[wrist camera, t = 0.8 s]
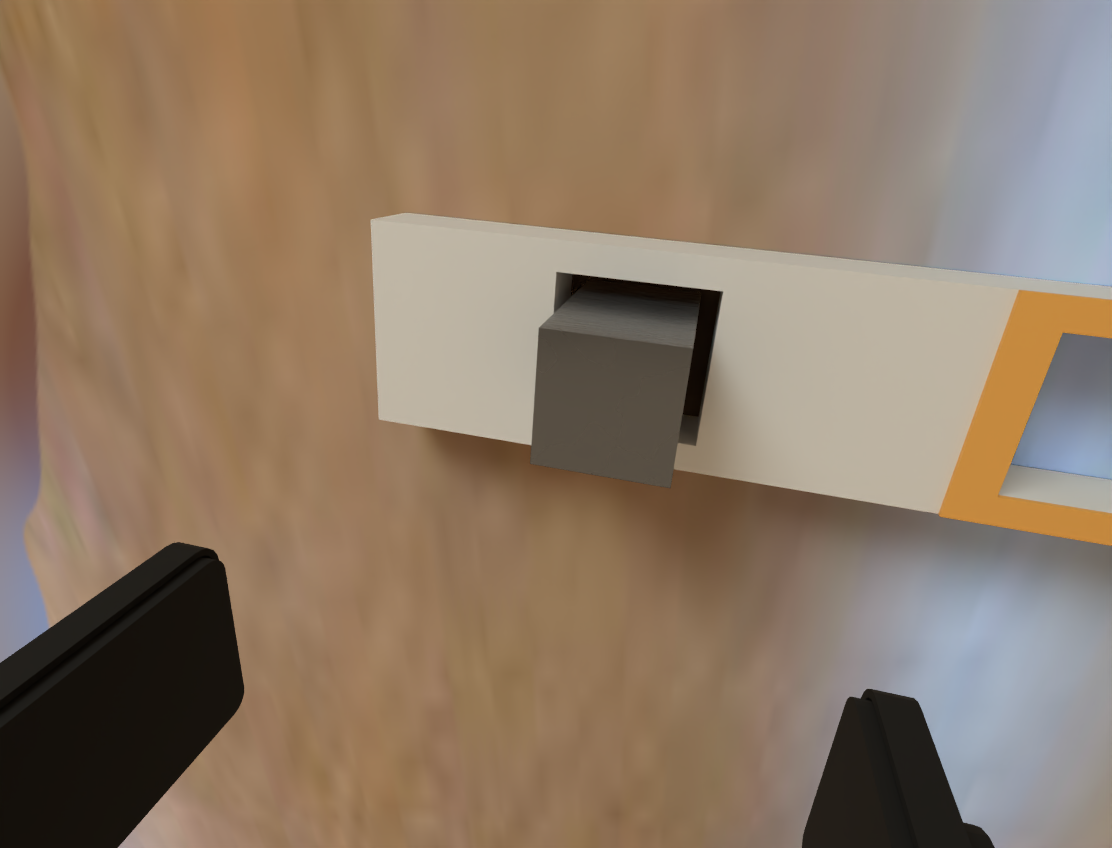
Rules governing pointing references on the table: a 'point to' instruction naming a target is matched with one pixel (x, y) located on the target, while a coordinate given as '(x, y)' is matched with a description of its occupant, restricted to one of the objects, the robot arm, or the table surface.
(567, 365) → the steel block
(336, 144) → the table surface
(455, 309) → the rail
